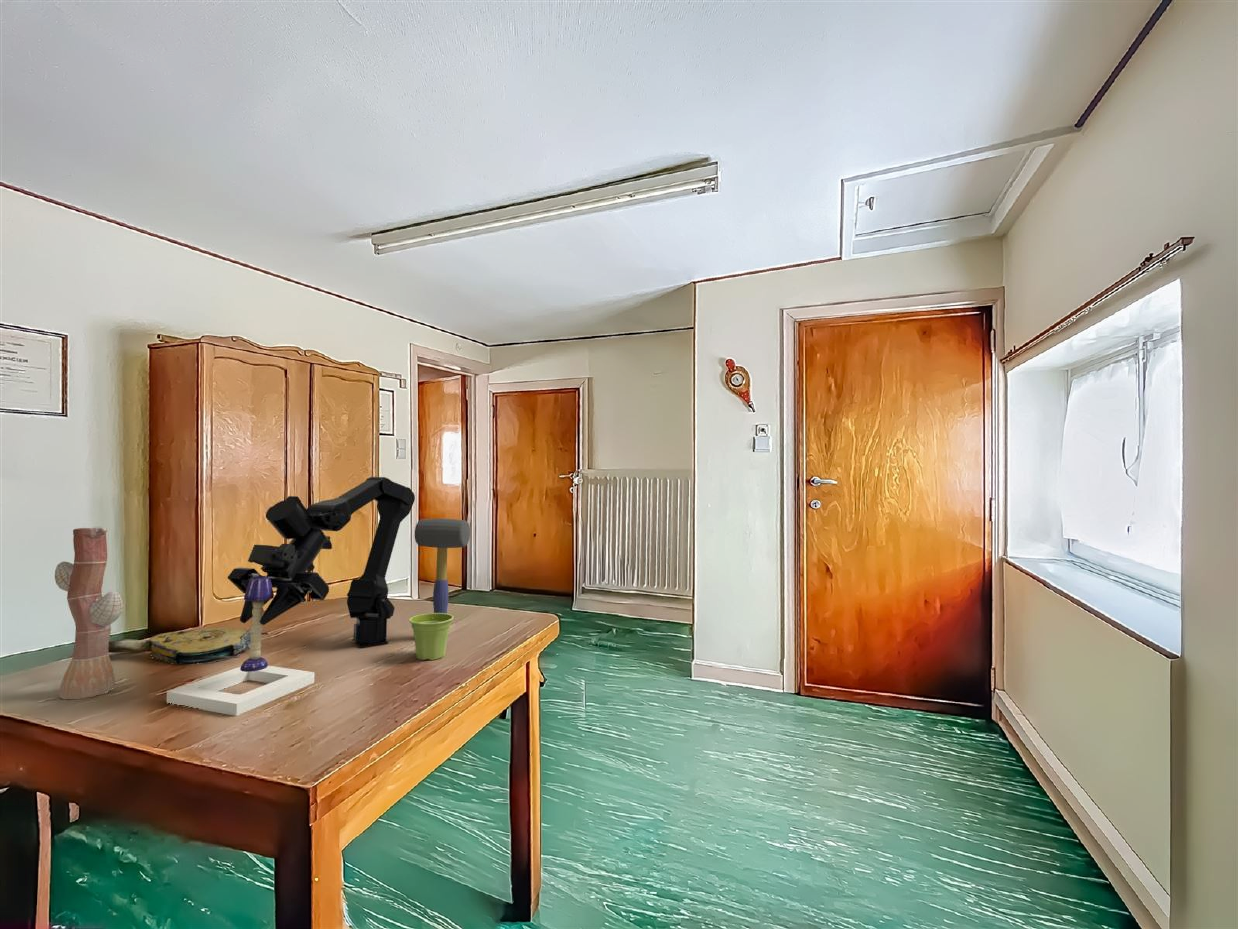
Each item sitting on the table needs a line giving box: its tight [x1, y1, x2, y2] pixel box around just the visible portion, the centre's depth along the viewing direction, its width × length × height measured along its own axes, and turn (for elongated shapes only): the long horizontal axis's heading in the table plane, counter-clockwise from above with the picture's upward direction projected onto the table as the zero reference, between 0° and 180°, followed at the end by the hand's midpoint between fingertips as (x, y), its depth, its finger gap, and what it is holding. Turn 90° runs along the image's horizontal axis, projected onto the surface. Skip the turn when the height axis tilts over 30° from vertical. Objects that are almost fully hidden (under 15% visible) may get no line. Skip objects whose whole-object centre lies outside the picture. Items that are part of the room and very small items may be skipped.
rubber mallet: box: [414, 518, 471, 614], centre depth 140 cm, size 12×8×30 cm, turn 85°
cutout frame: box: [166, 665, 315, 717], centre depth 102 cm, size 16×16×2 cm
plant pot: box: [408, 612, 454, 661], centre depth 125 cm, size 9×9×9 cm
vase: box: [54, 526, 124, 700], centre depth 101 cm, size 10×7×30 cm
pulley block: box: [108, 627, 269, 665], centre depth 122 cm, size 14×6×30 cm
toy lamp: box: [240, 575, 275, 672], centre depth 102 cm, size 5×5×17 cm
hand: (251, 622), depth 101 cm, fingers closed on toy lamp, 4 cm apart
